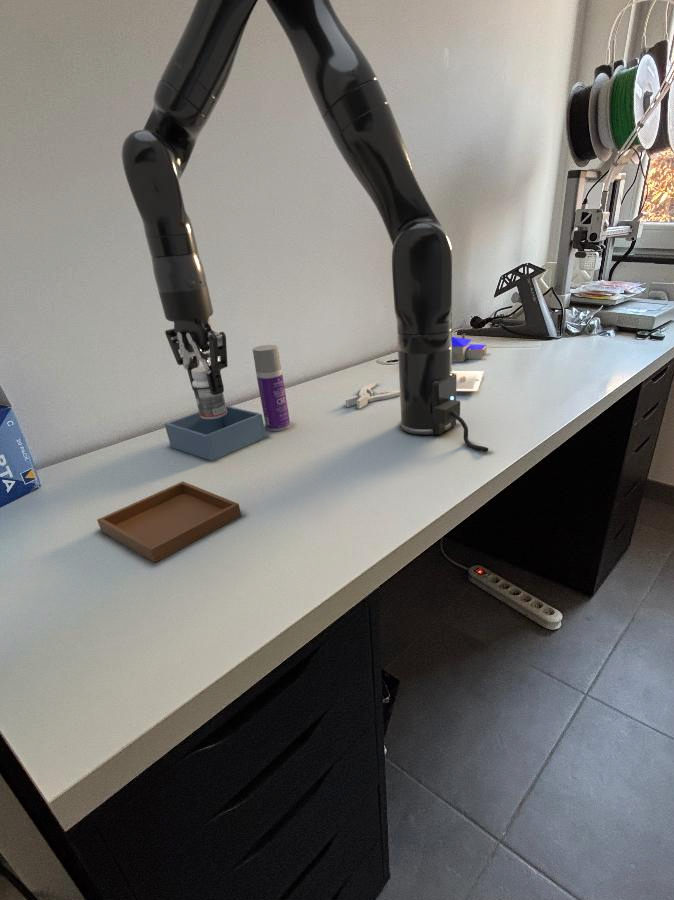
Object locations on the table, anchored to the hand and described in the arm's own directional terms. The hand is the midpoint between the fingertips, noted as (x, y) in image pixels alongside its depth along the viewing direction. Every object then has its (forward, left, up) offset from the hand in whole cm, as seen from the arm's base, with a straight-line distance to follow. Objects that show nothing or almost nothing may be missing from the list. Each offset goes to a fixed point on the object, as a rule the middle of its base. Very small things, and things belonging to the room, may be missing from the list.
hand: (208, 391), depth 92 cm
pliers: (-9, -34, -10) cm, 36 cm away
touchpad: (-22, -50, -10) cm, 55 cm away
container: (-4, -11, -10) cm, 15 cm away
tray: (-19, +22, -10) cm, 30 cm away
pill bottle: (0, 0, -5) cm, 5 cm away
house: (-7, -70, -10) cm, 71 cm away
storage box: (0, 0, -10) cm, 10 cm away
